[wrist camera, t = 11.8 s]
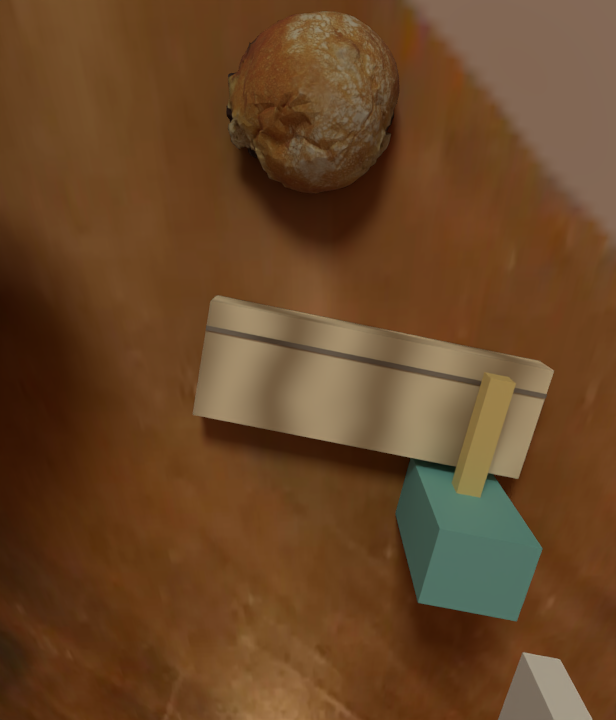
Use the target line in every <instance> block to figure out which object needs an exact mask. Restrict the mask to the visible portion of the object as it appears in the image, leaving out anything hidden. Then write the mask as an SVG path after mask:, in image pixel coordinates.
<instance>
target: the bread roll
mask: <svg viewBox="0 0 616 720" xmlns="http://www.w3.org/2000/svg"><path fill="white" fill-rule="evenodd" d="M228 82H229V102H228V106H227V117H228V118H229V119H230V124H228V130H229V134H230V136H231V142H232V143H233V144H234V145H235V146H236V147H237V148H238V149H240V148H243V147H245V146H246V147H247V148H248V152H249V153H250V155H251V156H253V157H255V158H258V159H259V161H260V163H261V165H262V168H263V170H264V171H266V172H267V174H268V178H270V179H272V180H275V181H278V182H280V183H282V184H283V186H284V187H287V188H290V189H292V190H296V191H299V192H303V193H320V192H323V191H332V190H336V189H340V188H344V187H346V186H349V185H351V184H352V183H353V182H355V181H356V180H357V179H358V178H359V177H361V176H363V175H364V174H365V173H366V172H367V171H368V170H369V168H370V167H371V166H372V165H374V164H375V163H376V160H377V158H378V157H380V156H381V154H382V153H383V152H384V150H385V149H386V148H387V146H388V144H389V141H390V137H391V133H387V132H386V131H387V130H388V128H389V126H390V125H391V123H392V119H393V117H394V108H395V106H396V104H397V100H398V96H399V75H398V70H397V66H396V62H395V60H394V58H393V56H392V54H391V52H390V50H389V49H388V47H387V45H386V44H385V43H384V41H383V40H382V39H381V38H380V37H379V36H378V35H377V33H376V32H374V31H373V30H372V29H371V28H370V27H369V26H367V25H365V24H364V23H362V22H361V21H359V20H358V19H356V18H355V17H353V16H350V15H347V14H343V13H339V12H327V11H321V12H313V13H305V14H295V15H291V16H289V17H287V18H285V19H283V20H279V21H277V22H276V23H275V24H274V25H272V26H271V27H269V28H268V29H266V30H265V31H264V32H262V33H261V34H260V35H259V36H258V37H257V38H256V39H255V41H253V42H252V43H250V44H249V47H248V49H247V51H246V52H245V54H244V55H243V56H242V59H241V62H240V66H239V70H238V72H237V73H230V74H229V75H228Z"/></svg>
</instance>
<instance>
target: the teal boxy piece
mask: <svg viewBox="0 0 616 720" xmlns="http://www.w3.org/2000/svg"><path fill="white" fill-rule="evenodd" d="M515 385H516V383H515V382H514V381H513V380H511V379H510V378H509V377H506V376H501V375H496V374H491V373H486V372H484V375H483V378H482V382H481V385H480V389H479V392H478V395H477V399H476V402H475V406H474V409H473V412H472V416H471V419H470V422H469V426H468V429H467V433H466V436H465V439H464V443H463V446H462V449H461V453H460V456H459V460H458V463H457V466H456V467H455V466H450V465H445V464H440V463H435V462H430V461H425V460H420V459H415V458H410V462H409V466H408V469H407V473H406V477H405V480H404V484H403V488H402V491H401V495H400V499H399V502H398V506H397V510H396V518H397V522H398V526H399V530H400V534H401V538H402V542H403V546H404V549H405V553H406V557H407V561H408V565H409V569H410V573H411V577H412V581H413V585H414V589H415V593H416V597H417V601H418V603H422V604H427V605H433V606H438V607H443V608H449V609H454V610H459V611H465V612H470V613H475V614H481V615H486V616H491V617H497V618H502V619H507V620H513V621H517V619H518V616H519V613H520V611H521V608H522V605H523V602H524V599H525V596H526V594H527V591H528V588H529V585H530V582H531V580H532V577H533V574H534V571H535V568H536V565H537V563H538V560H539V557H540V554H541V551H542V547H541V546H540V544H539V543H538V541H537V540H536V538H535V537H534V535H533V534H532V532H531V531H530V529H529V528H528V526H527V525H526V523H525V522H524V520H523V519H522V517H521V516H520V514H519V513H518V511H517V510H516V508H515V507H514V505H513V504H512V502H511V501H510V499H509V498H508V496H507V495H506V493H505V492H504V490H503V489H502V487H501V486H500V484H499V483H498V481H497V480H496V478H495V477H494V475H493V474H491V473H488V471H489V468H490V465H491V462H492V459H493V455H494V452H495V449H496V446H497V443H498V439H499V436H500V433H501V430H502V427H503V423H504V420H505V417H506V414H507V411H508V407H509V404H510V401H511V398H512V395H513V391H514V388H515Z"/></svg>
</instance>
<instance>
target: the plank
mask: <svg viewBox="0 0 616 720" xmlns="http://www.w3.org/2000/svg"><path fill="white" fill-rule="evenodd" d="M484 372H486V373H491V374H496V375H501V376H506V377H509V378H510V379H511V380H513V381H514V382H515V383H516V385H515V388H514V391H513V395H512V398H511V401H510V404H509V407H508V411H507V414H506V417H505V420H504V423H503V427H502V430H501V433H500V436H499V439H498V443H497V446H496V449H495V452H494V455H493V459H492V462H491V465H490V468H489V471H488V473H491V474H496V475H501V476H506V477H511V478H516V479H518V478H519V475H520V472H521V469H522V466H523V463H524V460H525V457H526V454H527V451H528V448H529V445H530V442H531V439H532V436H533V433H534V430H535V427H536V424H537V421H538V418H539V415H540V412H541V409H542V406H543V403H544V400H545V399H546V396H547V391H548V388H549V384H550V381H551V378H552V375H553V372H554V370H552V369H551V368H549V367H548V366H546V365H545V364H543V363H542V362H540V361H537V360H532V359H527V358H522V357H517V356H512V355H507V354H502V353H498V352H493V351H488V350H483V349H478V348H473V347H468V346H463V345H458V344H453V343H449V342H444V341H439V340H434V339H429V338H424V337H419V336H414V335H409V334H405V333H400V332H395V331H390V330H385V329H380V328H375V327H370V326H365V325H360V324H356V323H351V322H346V321H341V320H336V319H331V318H326V317H321V316H316V315H312V314H307V313H302V312H297V311H292V310H287V309H282V308H277V307H272V306H267V305H263V304H258V303H253V302H248V301H243V300H238V299H233V298H228V297H223V296H218V295H217V296H216V297H215V298H214V299H212V300H211V302H210V308H209V314H208V321H207V326H206V333H205V340H204V346H203V352H202V359H201V365H200V371H199V378H198V384H197V390H196V397H195V403H194V409H193V415H197V416H202V417H207V418H212V419H217V420H222V421H227V422H232V423H237V424H243V425H248V426H253V427H258V428H263V429H268V430H273V431H278V432H283V433H288V434H293V435H298V436H303V437H308V438H313V439H319V440H324V441H329V442H334V443H339V444H344V445H349V446H354V447H359V448H364V449H369V450H374V451H379V452H384V453H389V454H395V455H400V456H405V457H410V458H415V459H420V460H425V461H430V462H435V463H440V464H445V465H450V466H455V467H456V466H457V463H458V460H459V456H460V453H461V449H462V446H463V443H464V439H465V436H466V433H467V429H468V426H469V422H470V419H471V416H472V412H473V409H474V406H475V402H476V399H477V395H478V392H479V389H480V385H481V382H482V378H483V375H484Z"/></svg>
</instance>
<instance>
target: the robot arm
mask: <svg viewBox="0 0 616 720" xmlns="http://www.w3.org/2000/svg"><path fill="white" fill-rule="evenodd" d="M498 720H592V718H591V716H590V714H589V712H588V711H587V709H586V707H585V705H584V703H583V701H582V699H581V698H580V696H579V694H578V692H577V690H576V688H575V686H574V685H573V683H572V681H571V679H570V677H569V675H568V674H567V672H566V670H565V668H564V666H563V664H562V662H561V661H560V659H555V658H550V657H545V656H539V655H534V654H529V653H522V656H521V659H520V661H519V664H518V667H517V670H516V672H515V675H514V678H513V680H512V683H511V686H510V689H509V691H508V694H507V697H506V700H505V702H504V705H503V708H502V710H501V713H500V716H499V719H498Z"/></svg>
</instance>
